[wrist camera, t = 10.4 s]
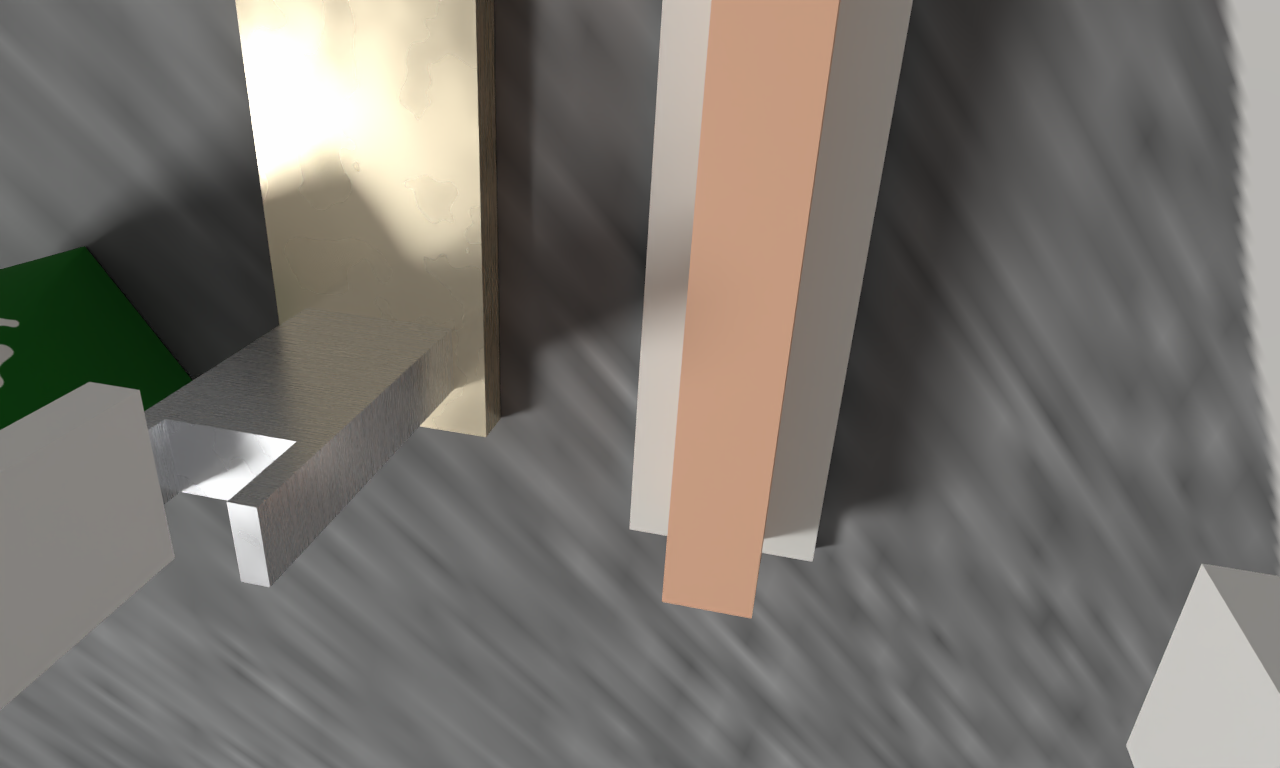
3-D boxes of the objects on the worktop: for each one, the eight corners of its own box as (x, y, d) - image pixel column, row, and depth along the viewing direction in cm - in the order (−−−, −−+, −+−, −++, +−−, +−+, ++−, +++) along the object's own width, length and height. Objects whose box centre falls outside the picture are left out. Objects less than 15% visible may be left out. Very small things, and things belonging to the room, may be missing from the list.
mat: (813, 548, 34) (812, 561, 33) (634, 517, 35) (629, 529, 34) (973, -348, 21) (977, -358, 21) (690, -350, 23) (684, -359, 22)
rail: (763, 538, 33) (751, 618, 29) (684, 525, 33) (661, 601, 29) (888, -340, 21) (896, -407, 17) (764, -340, 22) (744, -406, 18)
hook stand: (500, 418, 34) (321, 651, 23) (311, 388, 35) (52, 593, 24) (488, -374, 23) (136, -694, 12) (217, -375, 25) (-332, -661, 13)
